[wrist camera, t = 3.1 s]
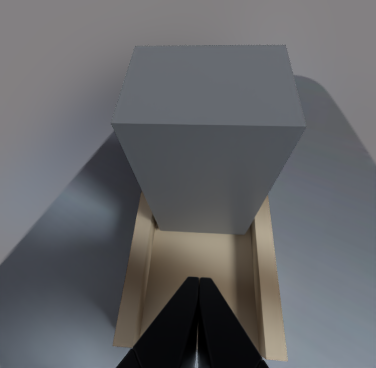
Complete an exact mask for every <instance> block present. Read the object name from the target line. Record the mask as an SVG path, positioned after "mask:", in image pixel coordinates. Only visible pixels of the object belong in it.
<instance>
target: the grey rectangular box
mask: <svg viewBox="0 0 376 368" xmlns="http://www.w3.org/2000/svg"><path fill="white" fill-rule="evenodd" d="M111 125H112V127H113V129H114V131H115V133H116V135H117V138H118V140H119V142H120V144H121V146H122V148H123V151H124V153H125V155H126V157H127V159H128V161H129V164H130V166H131V168H132V170H133V172H134V174H135V177H136V179H137V181H138V183H139V185H140V187H141V190H142V192H143V194H144V196H145V198H146V200H147V203H148V205H149V207H150V209H151V211H152V213H153V216H154V218H155V220H156V222H157V224H158V226H159V229H160V231H175V232H195V233H215V234H235V235H245V234H246V232H247V230H248V228H249V227H250V225H251V223H252V221H253V220H254V218H255V216H256V214H257V213H258V211H259V209H260V207H261V206H262V204H263V202H264V200H265V199H266V197H267V195H268V193H269V192H270V190H271V188H272V186H273V185H274V183H275V181H276V179H277V178H278V176H279V174H280V172H281V171H282V169H283V167H284V165H285V164H286V162H287V160H288V158H289V157H290V155H291V153H292V151H293V149H294V148H295V146H296V144H297V142H298V141H299V139H300V137H301V135H302V134H303V132H304V130H305V128H306V127H307V126H306V122H305V118H304V114H303V111H302V107H301V103H300V99H299V95H298V91H297V87H296V83H295V79H294V75H293V72H292V68H291V64H290V60H289V56H288V52H287V48H286V45H218V46H217V45H216V46H215V45H214V46H213V45H212V46H211V45H209V46H207V45H204V46H135V48H134V51H133V54H132V58H131V61H130V64H129V67H128V70H127V73H126V76H125V80H124V83H123V86H122V89H121V93H120V96H119V99H118V102H117V105H116V108H115V112H114V115H113V119H112V121H111Z"/></svg>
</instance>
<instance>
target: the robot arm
mask: <svg viewBox="0 0 376 368" xmlns="http://www.w3.org/2000/svg"><path fill="white" fill-rule="evenodd" d="M197 335H198V339H197ZM196 352H198V368H269V367H268V366H267V364H266V362H265V361H264V360H262V356H261V355H260V353H259V352H258V350H257V349H256V347H255V345H254V344H253V342H252V341H251V339H250V338H249V336H248V334H247V333H246V331H245V330H244V328H243V327H242V325H241V323H240V322H239V320H238V319H237V317H236V316H235V314H234V312H233V311H232V309H231V308H230V306H229V305H228V303H227V301H226V300H225V298H224V297H223V295H222V294H221V292H220V291H219V289H218V287H217V286H216V284H215V283H214V281H213V280H212V278H209V277H201V278H200V280H199V277H192V276H188V277H187V278H186V279H185V281H184V282H183V283H182V284H181V286H180V287H179V288H178V290H177V291H176V292H175V293H174V295H173V296H172V297H171V299H170V300H169V301H168V302H167V304H166V305H165V306H164V307H163V309H162V310H161V311H160V313H159V314H158V315H157V316H156V318H155V319H154V320H153V322H152V323H151V324H150V325H149V327H148V328H147V329H146V331H145V332H144V333H143V334H142V336H141V337H140V338H139V339H138V341H137V342H136V343H135V345H134V346H133V348H132V349H131V350H130V351H129V352H128V353H127V355H126V356H125V357H124V359H123V360H122V361H121V362H120V363H119V365H118V366H117V367H116V368H194V366H195V359H196Z"/></svg>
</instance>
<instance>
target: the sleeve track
mask: <svg viewBox="0 0 376 368" xmlns="http://www.w3.org/2000/svg"><path fill="white" fill-rule="evenodd" d="M188 276H192V277H199V280H200V278H201V277H209V278H212V280H213V281H214V283H215V284H216V286H217V287H218V289H219V291H220V292H221V294H222V295H223V297H224V298H225V300H226V301H227V303H228V305H229V306H230V308H231V309H232V311H233V312H234V314H235V316H236V317H237V319H238V320H239V322H240V323H241V325H242V327H243V328H244V330H245V331H246V333H247V334H248V336H249V338H250V339H251V341H252V342H253V344H254V345H255V347H256V349H257V350H258V352H259V353H260V355H261V356H262V357H264V358H265V359H267V360H279V361H288V358H287V350H286V342H285V333H284V325H283V317H282V308H281V300H280V292H279V284H278V275H277V267H276V259H275V250H274V242H273V234H272V225H271V217H270V209H269V201H268V195H267V197H266V199H265V200H264V202H263V204H262V206H261V207H260V209H259V211H258V213H257V214H256V216H255V218H254V220H253V221H252V223H251V225H250V227H249V228H248V230H247V232H246V234H245V235H235V234H215V233H195V232H175V231H160V229H159V226H158V224H157V222H156V220H155V218H154V216H153V213H152V211H151V209H150V207H149V205H148V203H147V200H146V198H145V196H144V194H143V192H142V191H141V196H140V201H139V207H138V212H137V217H136V223H135V228H134V234H133V239H132V244H131V250H130V255H129V260H128V266H127V271H126V276H125V282H124V287H123V292H122V298H121V303H120V308H119V314H118V319H117V324H116V330H115V335H114V341H113V346H117V347H129V348H133V346H134V345H135V343H136V342H137V341H138V339H139V338H140V337H141V336H142V334H143V333H144V332H145V331H146V329H147V328H148V327H149V325H150V324H151V323H152V322H153V320H154V319H155V318H156V316H157V315H158V314H159V313H160V311H161V310H162V309H163V307H164V306H165V305H166V304H167V302H168V301H169V300H170V299H171V297H172V296H173V295H174V293H175V292H176V291H177V290H178V288H179V287H180V286H181V284H182V283H183V282H184V281H185V279H186V278H187V277H188ZM197 339H198V335H197Z"/></svg>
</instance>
